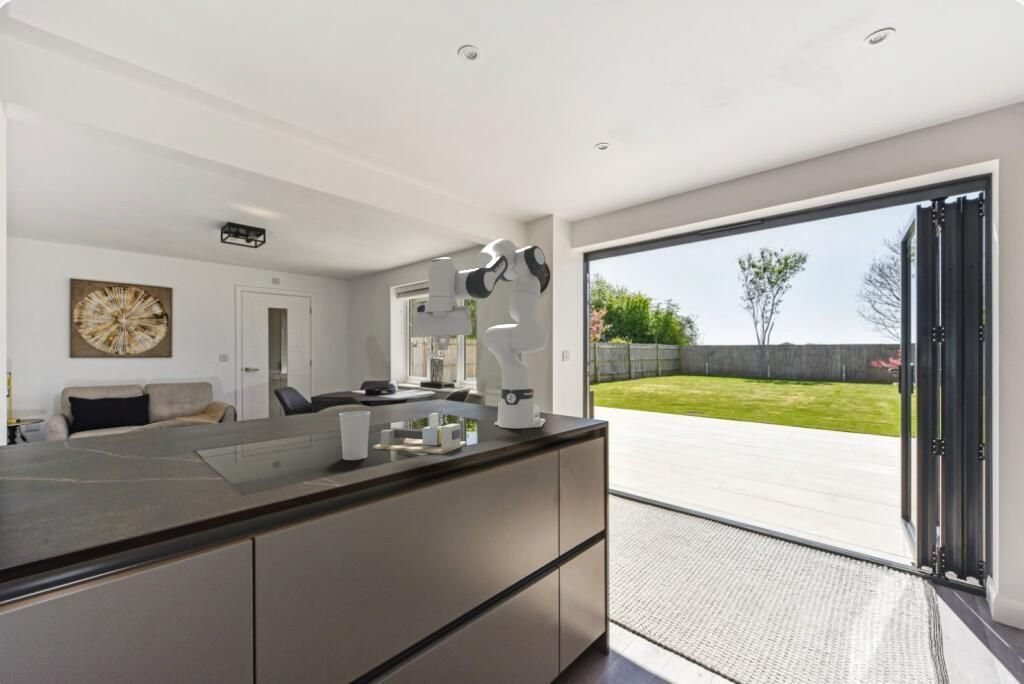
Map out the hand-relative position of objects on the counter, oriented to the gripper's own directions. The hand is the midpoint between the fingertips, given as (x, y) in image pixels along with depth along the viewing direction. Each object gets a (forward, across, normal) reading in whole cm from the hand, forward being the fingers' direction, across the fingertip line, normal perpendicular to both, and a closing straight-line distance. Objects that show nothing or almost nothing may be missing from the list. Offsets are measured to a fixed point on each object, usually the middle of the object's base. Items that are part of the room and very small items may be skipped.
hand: (442, 350), depth 144 cm
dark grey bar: (+27, +3, +10) cm, 29 cm away
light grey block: (+29, +12, +10) cm, 33 cm away
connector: (+29, -8, +10) cm, 32 cm away
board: (+29, +2, +10) cm, 31 cm away
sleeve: (+28, -3, +10) cm, 30 cm away
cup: (+29, +11, +28) cm, 42 cm away
